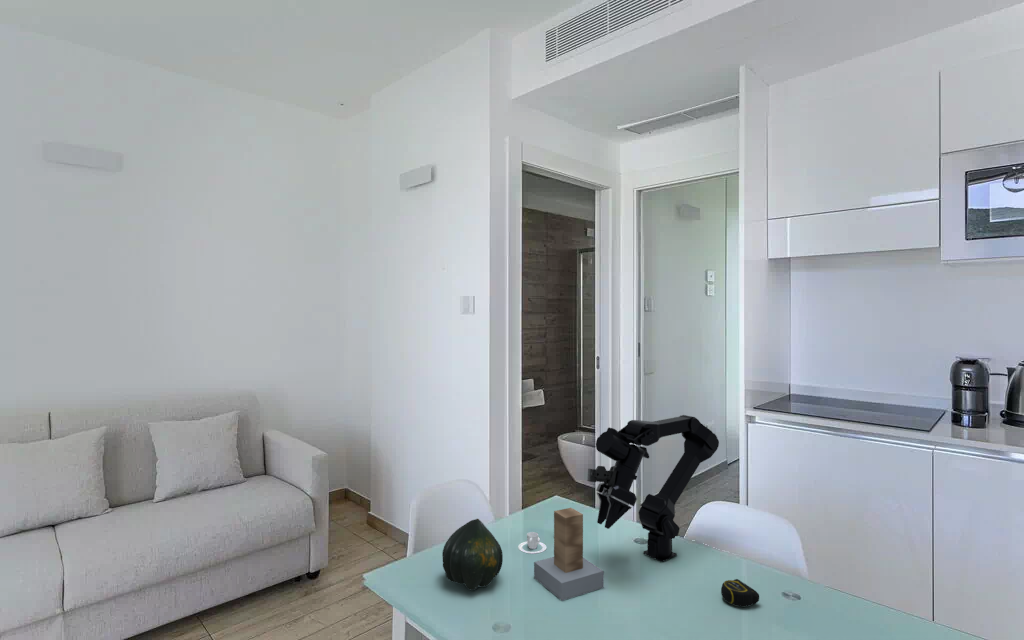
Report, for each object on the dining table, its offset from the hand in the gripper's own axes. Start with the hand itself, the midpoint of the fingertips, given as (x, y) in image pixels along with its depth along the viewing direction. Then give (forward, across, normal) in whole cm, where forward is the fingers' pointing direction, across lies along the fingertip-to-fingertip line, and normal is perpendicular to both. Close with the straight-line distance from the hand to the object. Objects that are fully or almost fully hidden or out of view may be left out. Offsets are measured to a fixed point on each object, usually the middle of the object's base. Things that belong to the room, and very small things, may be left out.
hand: (602, 525), depth 133 cm
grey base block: (+16, +1, -3) cm, 16 cm away
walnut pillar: (+12, +2, -4) cm, 13 cm away
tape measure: (+2, +10, +32) cm, 34 cm away
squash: (+26, -1, -24) cm, 35 cm away
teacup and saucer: (+13, -20, -9) cm, 25 cm away
